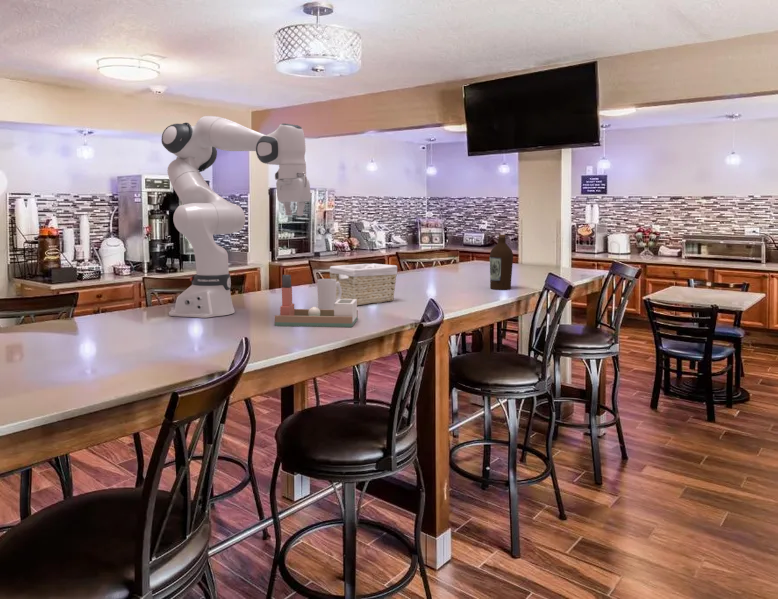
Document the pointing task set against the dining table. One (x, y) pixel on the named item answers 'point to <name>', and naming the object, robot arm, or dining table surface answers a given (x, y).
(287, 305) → the post
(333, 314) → the board
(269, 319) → the dining table surface
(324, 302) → the mug
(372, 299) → the storage basket
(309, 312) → the ball
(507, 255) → the olive oil
